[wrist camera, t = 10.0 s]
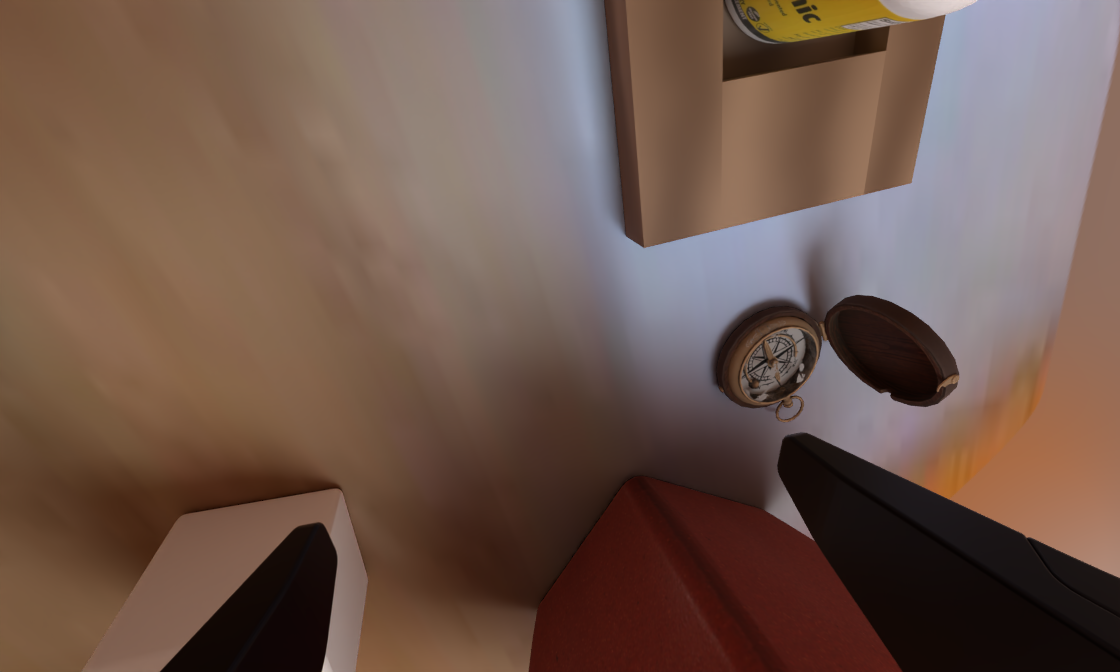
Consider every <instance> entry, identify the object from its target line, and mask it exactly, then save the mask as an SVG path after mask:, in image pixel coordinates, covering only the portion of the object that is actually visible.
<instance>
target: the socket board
mask: <svg viewBox="0 0 1120 672" xmlns="http://www.w3.org/2000/svg"><path fill="white" fill-rule="evenodd" d="M604 3H605V13H606V24H607V35H608V46H609V56H610V67H611V78H612V89H613V99H614V110H615V121H616V132H617V142H618V153H619V164H620V175H621V185H622V196H623V207H624V218H625V228H626V236H627V237H628V238H630V239H631V240H633V241H634V242H636V243H637V244H639V245H640V246H642V247H643V248H646V247H650V246H654V245H658V244H662V243H666V242H670V241H675V240H679V239H683V238H687V237H691V236H695V235H699V234H703V233H708V232H712V231H716V230H720V229H724V228H728V227H732V226H736V225H740V224H745V223H749V222H753V221H757V220H761V219H765V218H769V217H773V216H778V215H782V214H786V213H790V212H794V211H798V210H802V209H806V208H810V207H815V206H819V205H823V204H827V203H831V202H835V201H839V200H843V199H848V198H852V197H856V196H860V195H864V194H868V193H872V192H876V191H880V190H885V189H889V188H893V187H897V186H901V185H905V184H909V183H911V182H912V177H913V172H914V167H915V163H916V158H917V153H918V148H919V143H920V138H921V133H922V128H923V123H924V118H925V113H926V108H927V103H928V99H929V94H930V89H931V84H932V79H933V74H934V69H935V64H936V59H937V54H938V49H939V44H940V39H941V35H942V30H943V25H944V20H945V15H941V16H937V17H933V18H928V19H924V20H919V21H913V22H906V23H901V24H895V25H890V26H884V27H878V28H872V29H866V30H860V31H854V32H849V33H843V34H837V35H831V36H825V37H819V38H814V39H808V40H802V41H795V42H790V43H775V44H773V43H765V42H761V41H758V40H755V39H753V38H751V37H750V36H748V35H747V34H745V33H744V32H743V31H742V30H741V29H740V28H739V27H738V26H737V24H736V23H735V22H734V20H733V18H732V17H731V15H730V13H729V11H728V8H727V6H726V3H725V0H604Z"/></svg>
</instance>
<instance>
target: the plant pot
mask: <svg viewBox="0 0 1120 672" xmlns="http://www.w3.org/2000/svg"><path fill="white" fill-rule="evenodd" d="M529 672H902V670H901V669H900V667H899V666H898V664H897V663H896V661H895V660H894V658H893V657H892V655H891V654H890V653H889V651H888V650H887V648H886V647H885V645H884V644H883V642H882V641H881V639H880V638H879V636H878V635H877V633H876V632H875V630H874V629H873V627H872V626H871V624H870V623H869V621H868V620H867V618H866V617H865V615H864V614H863V613H862V611H861V610H860V608H859V607H858V605H857V604H856V602H855V601H854V599H853V598H852V596H851V595H850V593H849V592H848V590H847V589H846V587H845V586H844V584H843V583H842V581H841V580H840V578H839V577H838V575H837V574H836V573H835V571H834V570H833V568H832V567H831V565H830V564H829V562H828V561H827V559H826V558H825V556H824V555H823V553H822V552H821V550H820V548H819V547H818V545H817V544H816V542H815V541H813V540H812V539H810V538H809V537H807V536H806V535H804V534H802V533H801V532H799V531H798V530H796V529H794V528H793V527H791V526H789V525H788V524H786V523H784V522H783V521H781V520H780V519H778V518H776V517H775V516H773V515H771V514H770V513H768V512H766V511H764V510H763V509H759V508H756V507H753V506H749V505H745V504H741V503H738V502H735V501H731V500H728V499H724V498H721V497H717V496H713V495H710V494H706V493H703V492H699V491H696V490H692V489H689V488H685V487H682V486H678V485H675V484H671V483H668V482H664V481H661V480H657V479H653V478H650V477H646V476H638V477H634V478H632V479H630V480H628V481H627V482H626V483H625V484H624V485H623V486H622V487H621V489H620V490H619V492H618V493H617V494H616V496H615V497H614V499H613V500H612V502H611V503H610V505H609V506H608V508H607V509H606V510H605V512H604V513H603V515H602V516H601V518H600V519H599V520H598V522H597V523H596V525H595V526H594V527H593V529H592V530H591V532H590V533H589V535H588V536H587V538H586V539H585V540H584V542H583V543H582V545H581V546H580V548H579V549H578V550H577V552H576V553H575V555H574V556H573V558H572V559H571V560H570V562H569V563H568V565H567V566H566V568H565V569H564V571H563V572H562V573H561V575H560V576H559V578H558V579H557V581H556V582H555V583H554V585H553V586H552V588H551V589H550V590H549V592H548V593H547V595H546V596H545V598H544V599H543V600H542V602H541V603H540V605H539V607H538V610H537V615H536V622H535V628H534V634H533V641H532V649H531V657H530V665H529Z"/></svg>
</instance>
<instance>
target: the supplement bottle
mask: <svg viewBox="0 0 1120 672" xmlns="http://www.w3.org/2000/svg"><path fill="white" fill-rule="evenodd" d="M976 1H978V0H725V3H726V6H727V8H728V11H729V13H730V15H731V17H732V18H733V20H734V22H735V23H736V24H737V26H738V27H739V28H740V29H741V30H742V31H743V32H744V33H745V34H747V35H748V36H750V37H751V38H753V39H755V40H758V41H761V42H765V43H773V44H775V43H790V42H795V41H802V40H808V39H814V38H819V37H825V36H831V35H837V34H843V33H849V32H854V31H860V30H866V29H872V28H878V27H884V26H890V25H895V24H901V23H906V22H913V21H919V20H924V19H928V18H933V17H937V16H941V15H946V14H949V13H952V12H955V11H958V10H960V9H962V8H964V7H967V6H969V5H971V4H973V3H974V2H976Z"/></svg>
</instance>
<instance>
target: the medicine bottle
mask: <svg viewBox="0 0 1120 672" xmlns="http://www.w3.org/2000/svg"><path fill="white" fill-rule="evenodd" d="M316 522H321V523H323V524H324V526H325V527H326V529H327V531H328V533H329V536H330V538H331V540H332V542H333V544H334V546H335V549H336V551H337V556H338V565H337V573H336V581H335V589H334V596H333V604H332V612H331V620H330V628H329V635H328V642H327V649H326V655H325V660H324V665H323V669H322V672H355V670H356V663H357V656H358V649H359V641H360V634H361V627H362V620H363V613H364V606H365V599H366V592H367V585H368V576H367V573H366V570H365V566H364V563H363V559H362V556H361V553H360V549H359V546H358V543H357V539H356V536H355V533H354V529H353V526H352V523H351V519H350V516H349V512H348V509H347V506H346V502H345V499H344V496H343V492H342V491H341V490H340V489H329V490H323V491H317V492H311V493H306V494H300V495H294V496H288V497H282V498H276V499H271V500H265V501H259V502H253V503H247V504H241V505H236V506H230V507H224V508H218V509H212V510H207V511H201V512H195V513H189V514H184V515H182V516H180V517H179V518H178V519H177V520H176V522H175V524H174V525H173V527H172V528H171V530H170V531H169V533H168V535H167V536H166V538H165V539H164V541H163V543H162V544H161V546H160V547H159V549H158V551H157V552H156V554H155V555H154V557H153V558H152V560H151V562H150V563H149V565H148V566H147V568H146V570H145V571H144V573H143V574H142V576H141V578H140V579H139V581H138V582H137V584H136V586H135V587H134V589H133V590H132V592H131V593H130V595H129V597H128V598H127V600H126V601H125V603H124V605H123V606H122V608H121V609H120V611H119V613H118V614H117V616H116V617H115V619H114V620H113V622H112V624H111V625H110V627H109V628H108V630H107V632H106V633H105V635H104V636H103V638H102V640H101V641H100V643H99V644H98V646H97V647H96V649H95V651H94V652H93V654H92V655H91V657H90V659H89V660H88V662H87V663H86V665H85V667H84V668H83V670H82V672H160V671H161V670H162V669H163V667H164V666H165V665H166V664H167V663H168V662H169V661H170V660H171V659H172V658H173V657H174V656H175V655H176V654H177V653H178V652H179V650H180V649H181V648H182V647H183V646H184V645H185V644H186V643H187V642H188V641H189V640H190V639H191V638H192V637H193V636H194V635H195V633H196V632H197V631H198V630H199V629H200V628H201V627H202V626H203V625H204V624H205V623H206V622H207V621H208V620H209V619H210V617H211V616H212V615H213V614H214V613H215V612H216V611H217V610H218V609H219V608H220V607H221V606H222V605H223V604H224V603H225V602H226V600H227V599H228V598H229V597H230V596H231V595H232V594H233V593H234V592H235V591H236V590H237V589H238V588H239V587H240V586H241V585H242V583H243V582H244V581H245V580H246V579H247V578H248V577H249V576H250V575H251V574H252V573H253V572H254V571H255V570H256V569H257V568H258V566H259V565H260V564H261V563H262V562H263V561H264V560H265V559H266V558H267V557H268V556H269V555H270V554H271V553H272V552H273V551H274V549H275V548H276V547H277V546H278V545H279V544H280V543H281V542H282V541H283V540H284V539H285V538H286V537H287V536H288V535H289V533H290V532H291V531H292V530H293V529H295V528H296V527H298V526H300V525H305V524H310V523H316Z"/></svg>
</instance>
